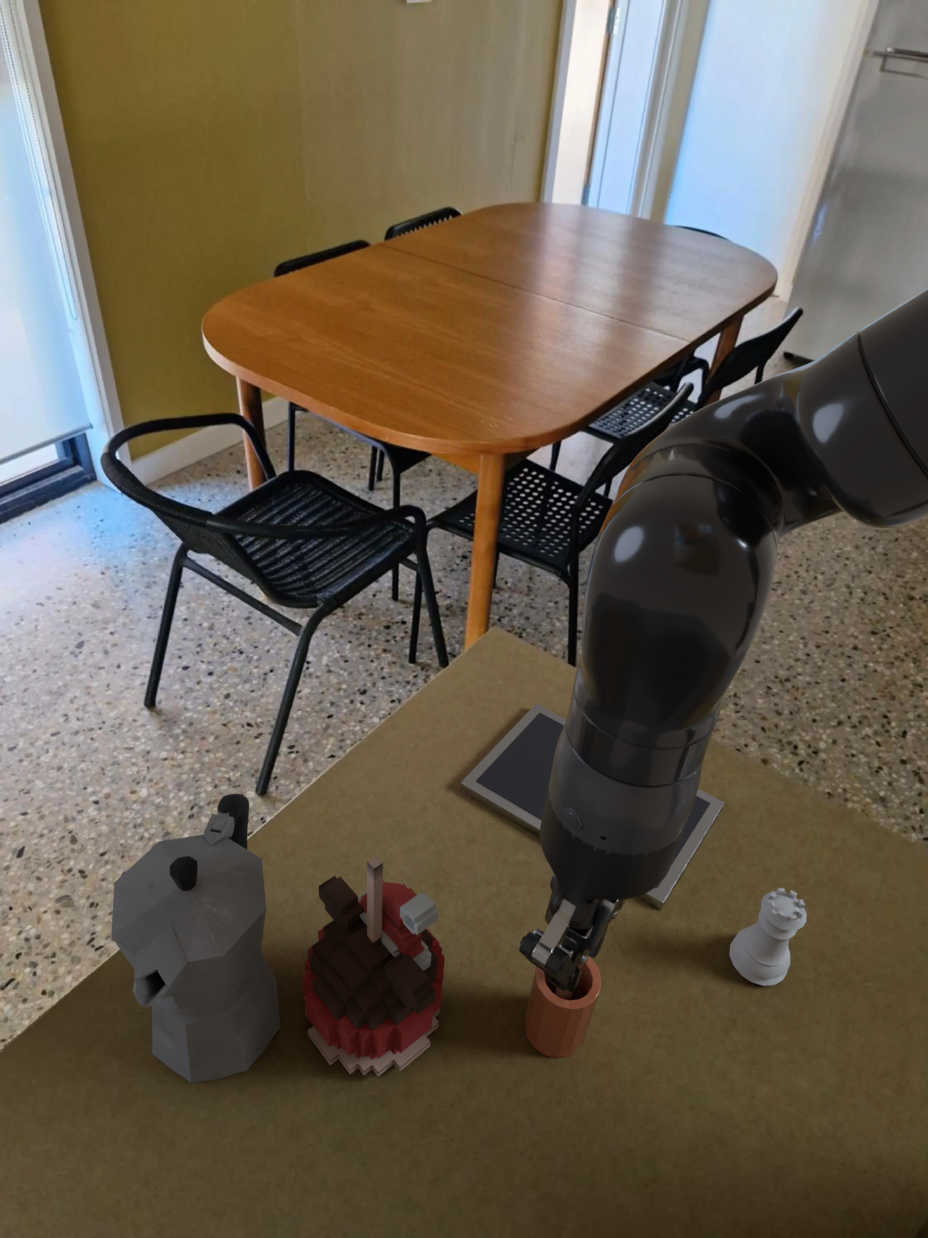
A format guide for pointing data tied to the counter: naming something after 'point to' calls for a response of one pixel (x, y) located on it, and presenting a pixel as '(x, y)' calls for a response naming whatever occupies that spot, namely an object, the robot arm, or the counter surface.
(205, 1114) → the counter surface
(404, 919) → the cake
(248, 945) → the coffeepot
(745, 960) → the rook chess piece
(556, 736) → the tablet
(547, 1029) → the pen cup
